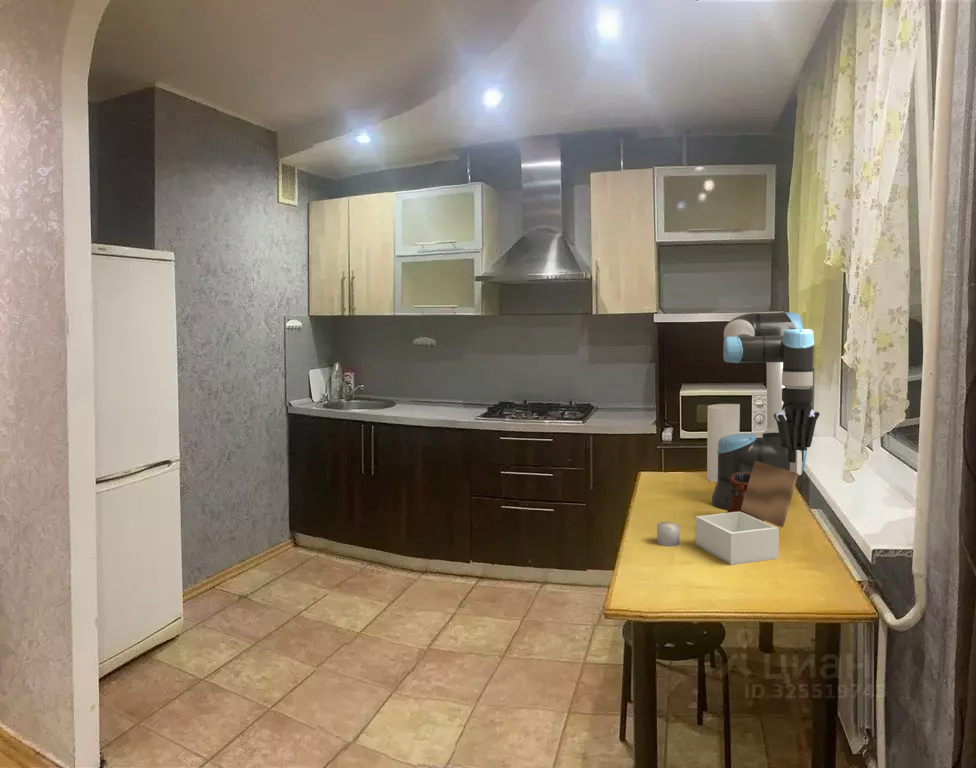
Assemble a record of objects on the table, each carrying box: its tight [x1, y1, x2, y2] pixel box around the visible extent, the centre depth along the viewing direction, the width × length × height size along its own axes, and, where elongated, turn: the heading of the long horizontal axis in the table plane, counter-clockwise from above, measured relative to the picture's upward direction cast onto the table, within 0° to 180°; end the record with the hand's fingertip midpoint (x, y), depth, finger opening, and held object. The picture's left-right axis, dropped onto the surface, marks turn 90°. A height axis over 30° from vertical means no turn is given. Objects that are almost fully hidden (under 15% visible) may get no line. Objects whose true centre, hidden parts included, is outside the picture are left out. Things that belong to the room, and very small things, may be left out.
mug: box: [726, 472, 765, 522], centre depth 199 cm, size 18×12×15 cm, turn 153°
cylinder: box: [706, 403, 741, 483], centre depth 255 cm, size 17×17×28 cm
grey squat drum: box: [656, 521, 681, 547], centre depth 187 cm, size 6×6×5 cm
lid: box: [741, 461, 799, 528], centre depth 180 cm, size 14×16×1 cm
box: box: [695, 511, 780, 566], centre depth 179 cm, size 14×16×8 cm
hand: (795, 473), depth 182 cm, fingers closed
